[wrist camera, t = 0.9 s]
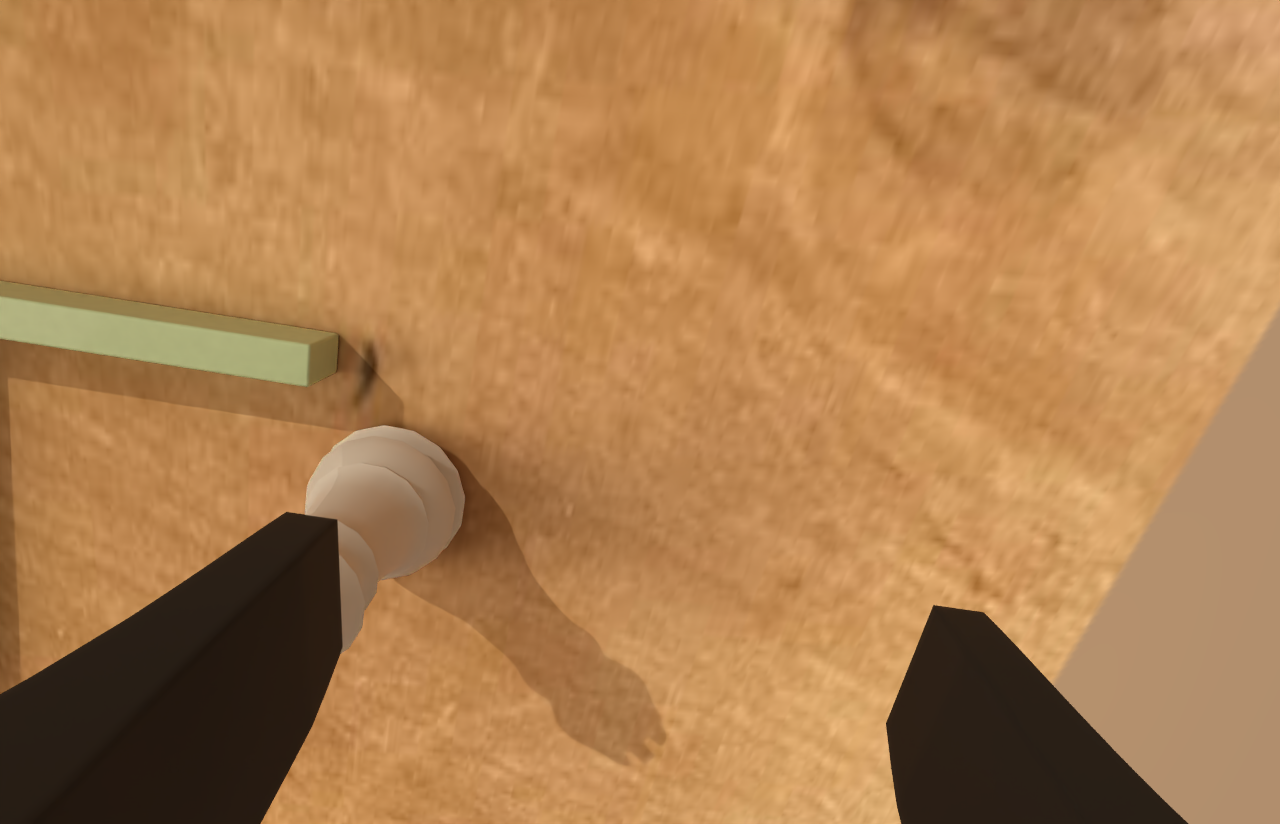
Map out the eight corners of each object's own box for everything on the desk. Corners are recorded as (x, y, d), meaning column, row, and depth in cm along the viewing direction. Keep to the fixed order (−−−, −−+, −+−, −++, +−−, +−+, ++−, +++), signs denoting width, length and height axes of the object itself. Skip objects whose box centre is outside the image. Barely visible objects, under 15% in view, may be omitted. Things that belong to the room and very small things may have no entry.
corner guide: (315, 761, 28) (288, 803, 26) (-73, 699, 28) (-129, 736, 26) (340, 332, 24) (310, 344, 22) (-108, 263, 24) (-176, 268, 22)
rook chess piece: (297, 453, 25) (128, 567, 17) (428, 398, 25) (313, 491, 17) (365, 579, 26) (233, 741, 18) (493, 530, 26) (412, 675, 18)
